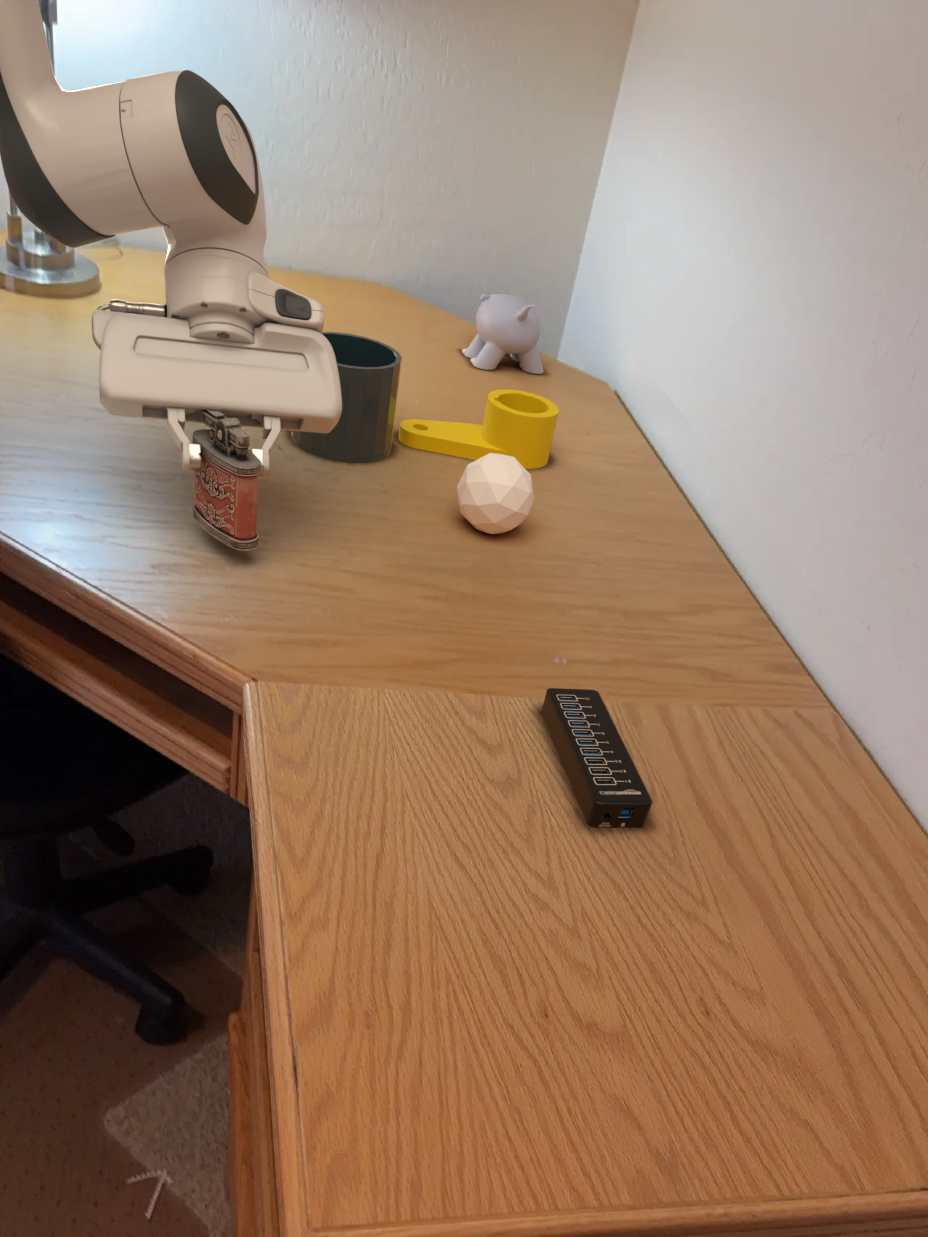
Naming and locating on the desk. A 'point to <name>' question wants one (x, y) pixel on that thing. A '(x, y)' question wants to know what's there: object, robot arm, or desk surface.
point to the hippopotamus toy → (505, 333)
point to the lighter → (226, 482)
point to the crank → (492, 430)
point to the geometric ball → (495, 493)
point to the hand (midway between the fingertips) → (226, 470)
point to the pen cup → (359, 402)
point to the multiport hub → (595, 759)
